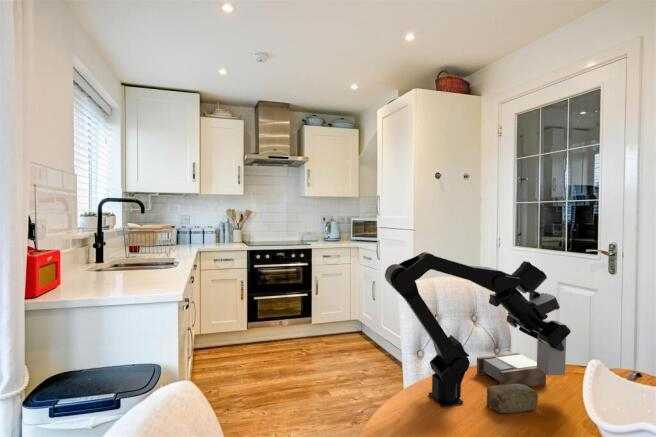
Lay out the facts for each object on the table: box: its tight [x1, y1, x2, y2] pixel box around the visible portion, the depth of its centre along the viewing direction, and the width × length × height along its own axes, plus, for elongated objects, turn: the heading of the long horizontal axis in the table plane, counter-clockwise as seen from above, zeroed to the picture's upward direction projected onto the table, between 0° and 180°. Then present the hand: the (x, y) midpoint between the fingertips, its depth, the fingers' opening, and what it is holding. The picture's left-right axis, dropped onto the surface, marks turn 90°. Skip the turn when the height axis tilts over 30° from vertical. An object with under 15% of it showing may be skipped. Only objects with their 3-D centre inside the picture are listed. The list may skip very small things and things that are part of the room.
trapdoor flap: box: [484, 353, 537, 382], centre depth 106 cm, size 14×8×4 cm, turn 106°
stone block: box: [486, 384, 539, 415], centre depth 91 cm, size 6×12×5 cm, turn 102°
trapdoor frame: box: [476, 352, 547, 388], centre depth 106 cm, size 15×11×5 cm
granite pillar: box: [536, 319, 567, 376], centre depth 96 cm, size 5×5×13 cm
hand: (556, 346), depth 96 cm, fingers closed on granite pillar, 5 cm apart
